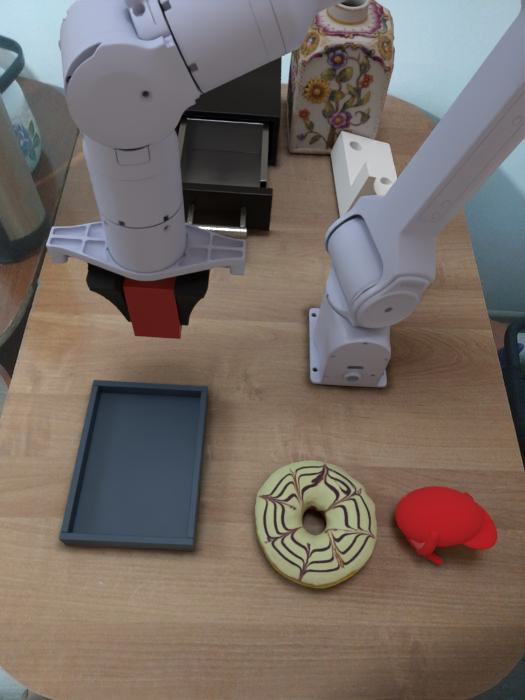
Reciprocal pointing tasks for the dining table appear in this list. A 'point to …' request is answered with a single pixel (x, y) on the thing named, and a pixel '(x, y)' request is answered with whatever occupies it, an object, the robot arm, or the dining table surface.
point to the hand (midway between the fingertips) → (159, 314)
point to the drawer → (225, 174)
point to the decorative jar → (340, 76)
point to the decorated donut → (340, 514)
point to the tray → (138, 467)
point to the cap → (444, 521)
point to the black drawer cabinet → (246, 101)
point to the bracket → (360, 169)
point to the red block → (153, 307)
